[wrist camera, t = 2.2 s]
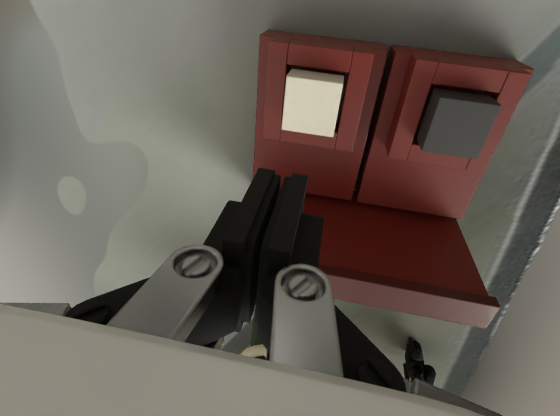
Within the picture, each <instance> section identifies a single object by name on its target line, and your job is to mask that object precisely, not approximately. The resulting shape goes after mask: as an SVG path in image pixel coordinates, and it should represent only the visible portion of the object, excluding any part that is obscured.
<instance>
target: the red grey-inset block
mask: <svg viewBox="0 0 560 416" xmlns="http://www.w3.org/2000/svg"><path fill="white" fill-rule="evenodd" d="M533 71H534V69H533V68H531V67H529V66H527V65H525V64H523V63H521V62H519V61H518V60H510V59H502V58H494V57H486V56H478V55H470V54H462V53H454V52H446V51H437V50H429V49H421V48H413V47H405V46H397V45H392V46H391V50H390V54H389V58H388V62H387V66H386V70H385V74H384V78H383V82H382V86H381V90H380V94H379V98H378V102H377V106H376V110H375V114H374V118H373V122H372V126H371V130H370V134H369V138H368V142H367V146H366V150H365V154H364V158H363V162H362V166H361V170H360V174H359V178H358V182H357V186H356V187H357V202H361V203H367V204H373V205H379V206H385V207H391V208H397V209H403V210H409V211H414V212H420V213H426V214H432V215H438V216H444V217H450V218H456V219H462V217H463V215H464V212H465V210H466V208H467V206H468V204H469V202H470V200H471V198H472V196H473V194H474V192H475V190H476V188H477V186H478V184H479V182H480V180H481V178H482V175H483V173H484V172H485V170H486V168H487V166H488V164H489V162H490V159H491V157H492V155H493V153H494V151H495V149H496V147H497V145H498V143H499V141H500V139H501V137H502V135H503V133H504V131H505V129H506V127H507V125H508V123H509V120H510V118H511V116H512V114H513V112H514V110H515V108H516V106H517V104H518V102H519V100H520V98H521V96H522V94H523V92H524V90H525V88H526V86H527V83H528V81H529V79H530V77H531V75H532V73H533ZM433 88H440V89H448V90H455V91H463V92H470V93H478V94H485V95H490V96H491V97H493V98H494V99H495V100H496V101H497V102H498V103H499V104H501V108H500V111H499V113H498V115H497V117H496V119H495V121H494V124H493V126H492V128H491V130H490V132H489V134H488V137H487V139H486V141H485V143H484V145H483V147H482V149H481V152H480V154H479V156H478V158H477V159H472V158H465V157H459V156H452V155H446V154H439V153H432V152H426V151H421V148H420V146H419V143H418V141H417V135H418V132H419V129H420V126H421V123H422V120H423V118H424V115H425V112H426V109H427V106H428V103H429V100H430V97H431V94H432V91H433Z"/></svg>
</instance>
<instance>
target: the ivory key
mask: <svg viewBox="0 0 560 416" xmlns="http://www.w3.org/2000/svg"><path fill="white" fill-rule="evenodd" d="M343 81H344V76H343V75H336V74H329V73H321V72H314V71H306V70H299V69H291V70H290V72H289V73H288V75H287V77H286V86H285V96H284V107H283V118H282V130H288V131H294V132H301V133H307V134H314V135H321V136H327V137H333V136H334V131H335V125H336V120H337V115H338V109H339V104H340V99H341V94H342V88H343Z"/></svg>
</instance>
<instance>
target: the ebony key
mask: <svg viewBox="0 0 560 416" xmlns="http://www.w3.org/2000/svg"><path fill="white" fill-rule="evenodd" d="M500 108H501V104H499V103H498V102H497V101H496V100H495V99H494V98H493V97H491V96H490V95H485V94H478V93H470V92H463V91H455V90H448V89H440V88H433V91H432V94H431V97H430V100H429V103H428V106H427V109H426V112H425V115H424V118H423V120H422V123H421V126H420V129H419V132H418V135H417V141H418V143H419V146H420V148H421V151H426V152H432V153H439V154H446V155H452V156H459V157H465V158H472V159H477V158H478V156H479V154H480V152H481V149H482V147H483V145H484V143H485V141H486V139H487V137H488V134H489V132H490V130H491V128H492V126H493V124H494V121H495V119H496V117H497V115H498V113H499V111H500Z"/></svg>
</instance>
